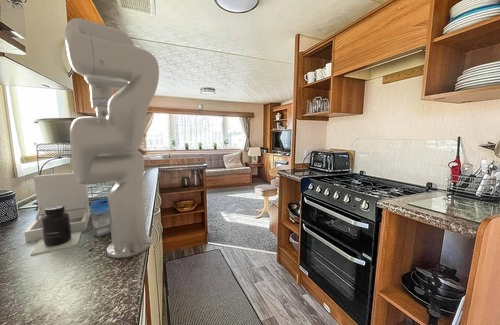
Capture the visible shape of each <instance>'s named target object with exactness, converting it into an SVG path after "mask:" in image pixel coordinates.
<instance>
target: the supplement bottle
mask: <svg viewBox="0 0 500 325" xmlns="http://www.w3.org/2000/svg"><path fill="white" fill-rule="evenodd" d="M64 211H65V207H64V205H54V206H49V207H47V208H45V215H46V216H45V217H43V218H42V221H41V222H42V226H41V228H42V230H43V239H44V244H45V245H46V246H57V245H61V244H64V243H66V242H68V241H69V240H70V239H71V226H70V223H71V220H70V217H69V214H68V213H65V212H64Z"/></svg>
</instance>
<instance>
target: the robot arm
mask: <svg viewBox="0 0 500 325" xmlns="http://www.w3.org/2000/svg"><path fill="white" fill-rule="evenodd" d="M64 41H65V46H66V47H65V48H66V52H67V58H68V61H69V64H70V66H71V68H72V69H73V71H74V72H75V73H77V74H79V75H81V76H83V78H84V79H83V80H85V82H86V83H87V84H88V85H89V92H90V93H89V94H90V104H91V105H90V106H91V108H93V109H95V115H96V116H80V117H77V118H75V119H73V121H72V122H71V125H70V128H69V141H70V152H71V153H70V154H71V165H72V173H74V177H75V179H76V180H77V181H78V182H79V183H81V184H87V185H94V184H105V183H111V182H112V183H113V182H114V185H113V186H112V188H111V189H110V191H109V192H108V196H107V198H108V201H107V203H108V206H109V216H110V227H111V233H110V234H111V243H110V244H108V246H107V248H106V254H107V256H108V257H109V258H110V257H111V258H115V259H123V258H129V257H134V256H136V255H139V254H140V253H143V252H145V251H147V250H148V249H149V248H150V247H151V246H152V244H153V239H152V237H151V236H149V235H147V228H146V226H147V225H146V214H145V212H146V211H145V202H144V200H145V198H144V172H145V157H144V154H143V153H142V152H140V151H139V149H140V147H141V146H142V144H143V139H144V133H145V126H146V120H147V113H148V109H149V106H150V104H151V103H152V100H153V98H154V97H155V94H156V91H157V89H158V85H159V78H160V67H159V63H158V60H157V58H156V57H155V55H153V53H151V52H150V51H148V50H145V49H144V48H140V47H137V46H135V43H134V41H133V39H132V38H131V36H129V34H127V33H126V32H125V31H123V30H121V29H119V28H116V27H113V26H110V25H107V24H102V23H98V22H95V21H91V20H87V19H84V18H79V17H76V18H72V19H70V20H69V21H68V22H67V23H66V26H65V30H64ZM114 90H116V92H115V93H114Z"/></svg>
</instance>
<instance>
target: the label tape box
mask: <svg viewBox="0 0 500 325" xmlns="http://www.w3.org/2000/svg"><path fill="white" fill-rule="evenodd" d="M104 202H105V203H104ZM89 205H90V215H91V222H92V230H93V235H94V236H96V237H97V238H99V237H102V236H104V235H107V234H111V227H110V216H109V206H108V197H106V198H101V199H98V200H97V199H96V200H92V201H89Z"/></svg>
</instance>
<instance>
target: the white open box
mask: <svg viewBox="0 0 500 325" xmlns="http://www.w3.org/2000/svg"><path fill="white" fill-rule="evenodd" d="M33 182H34V189H35V196H36V202H37V213H36V216H35V219H34V221H32V223H31V224H30V225H29V226H28V228H26V230H25V231H24V239H25V243H27V242H33V241H40V240H41V239H43V230H42V222H41V221H42V218H43V217H45V216H46V215H45V208H47V207H49V206H54V205H64V207H65V211H64V212H65V213H68V214H69V217H70V221H71V220H76V219H81V221H75V222H70V226H71V233H74V232H79V231H82V232H85V231H86V229H87V228H88V223H89V220H90V215H91V211H90V201H89V192H88V184H81V183H79V182H78V181H77V180H76V179H75V177H74V173H73V172H66V173H54V174H41V175H34V176H33Z"/></svg>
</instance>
